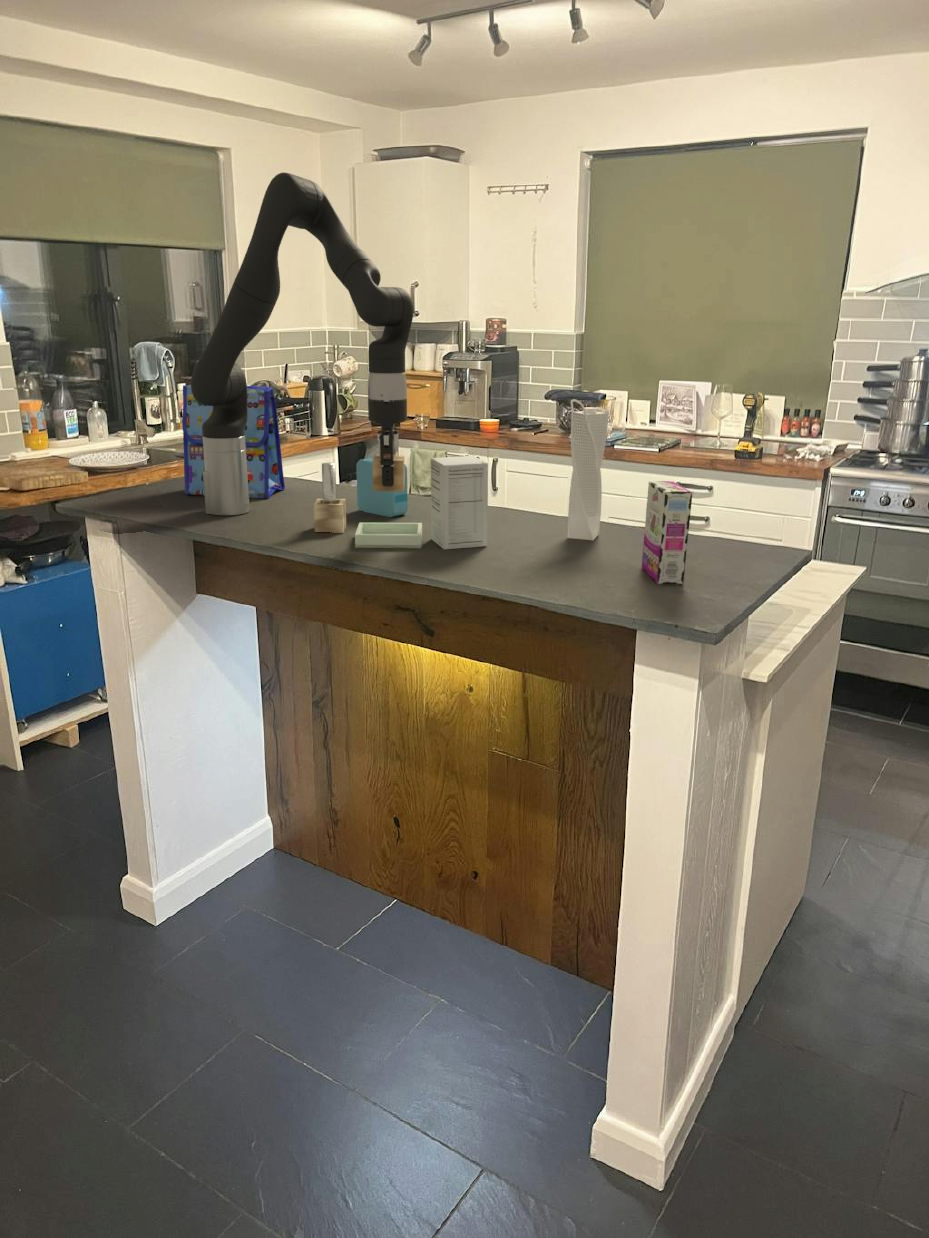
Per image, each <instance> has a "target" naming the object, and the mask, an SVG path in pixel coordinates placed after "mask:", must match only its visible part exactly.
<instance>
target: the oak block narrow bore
mask: <svg viewBox="0 0 929 1238" xmlns="http://www.w3.org/2000/svg"><path fill="white" fill-rule="evenodd" d="M372 458H373V460H372V464H373V491H404V486H405V470H404V464H405V455H396V456H394V463H395V465H394V467H393V470H394V484H393V486H383V485H382V467H381V465H380V461H381V460H380V455H374V456H373V457H372ZM384 459H391V456H384Z"/></svg>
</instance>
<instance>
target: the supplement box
mask: <svg viewBox="0 0 929 1238" xmlns="http://www.w3.org/2000/svg"><path fill="white" fill-rule="evenodd" d="M488 473H489V463H488V462H486V461H484V460H482V459H480V458H478V457H476V456H475V455H465V456H446V457H432V458H430V512H431V513H430V517H431V519H430V521H431V523H430V526H431V528H430V529H431V540H432V541H433V542H434V543H436V544H437V545H438V546H439V547H441V549H443V550H446V551H447V550H453V549H454V550H455V549H456V550H457V549H466V548H467V549H469V548H480V547H488V514H489V513H488V506H489V505H488V504H489V503H488V501H489V499H488V498H489V496H488V495H489V491H488V490H489V487H488V484H489V483H488V481H489V479H488V478H489V477H488V476H489V474H488Z"/></svg>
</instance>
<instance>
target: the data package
mask: <svg viewBox="0 0 929 1238" xmlns="http://www.w3.org/2000/svg"><path fill="white" fill-rule="evenodd" d="M373 458H374V457H368V458H364V459H359V460H358V461H357V462H356V466H355V467H356V499H357V501H356V502H357V503H356V504H357V507H358V509H359V511H361V512H362V511H363V513H367V514H373V515H378V516H381V517H387V518H393V517H394V518H395V517H398V516H402V515H405V514H406V513H407V511H408V467H407V465H406V464H405V463H404V470H405V486H404V491H373V464H372V460H373Z"/></svg>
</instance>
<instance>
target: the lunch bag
mask: <svg viewBox="0 0 929 1238" xmlns="http://www.w3.org/2000/svg"><path fill="white" fill-rule="evenodd" d="M182 401H183V402H182V418H181V419H182V420H181V427H182V434H183V435H182V439H183V440H182V441H183V443H182V444H183V471H184V472H183V473H184V476H183V477H184V494H185V495H187V496H188V495H192V496H204V497H205V494H204V481H203V472H204V471H205V461H204V448H203V436H202V425H203V423H204V422H205V421H206V420H207V419H208V418H209V417H210V415H211V413H212V411H213V406H206V405H202V404H200V403H199V402H198V401H196V399H195V398H194V396H193V394H192V391H191V384H189V385H185V384H184V385H182ZM247 408H248V418H247V423H246V426H245V445H246V460H247V475H248V491H249V499H270V498H271V496H272V494H274V493H275V492H276V491H277V490H279V491H285V490H286V486H285V479H284V469H283V467H284V466H283V458H282V450H281V447H282V446H281V439H280V438H281V437H280V430H279V429H280V428H279V419H278V411H277V409H278V408H277V401H276V397H275V392H274V388H273V387H269V386H263V385H262V386H259V385H247Z"/></svg>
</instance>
